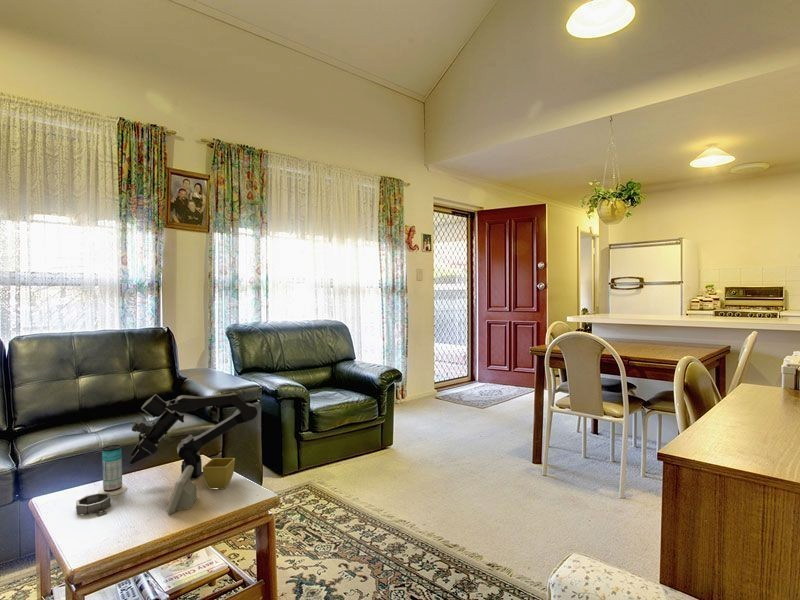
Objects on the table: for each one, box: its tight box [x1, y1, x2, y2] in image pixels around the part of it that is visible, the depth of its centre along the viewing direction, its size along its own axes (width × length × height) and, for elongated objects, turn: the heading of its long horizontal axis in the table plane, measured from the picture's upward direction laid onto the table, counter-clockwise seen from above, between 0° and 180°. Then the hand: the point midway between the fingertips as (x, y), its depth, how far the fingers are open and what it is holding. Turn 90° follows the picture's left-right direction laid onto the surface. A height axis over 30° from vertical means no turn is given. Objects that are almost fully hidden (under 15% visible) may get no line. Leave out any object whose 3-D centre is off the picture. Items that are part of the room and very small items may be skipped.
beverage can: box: [101, 444, 123, 492], centre depth 170 cm, size 6×6×15 cm
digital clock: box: [165, 465, 198, 515], centre depth 158 cm, size 16×9×11 cm, turn 0°
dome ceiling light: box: [97, 483, 128, 497], centre depth 170 cm, size 9×9×1 cm
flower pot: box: [202, 457, 236, 489], centre depth 172 cm, size 9×9×9 cm
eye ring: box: [75, 492, 112, 517], centre depth 156 cm, size 15×10×3 cm
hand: (131, 459), depth 173 cm, fingers open, 9 cm apart
